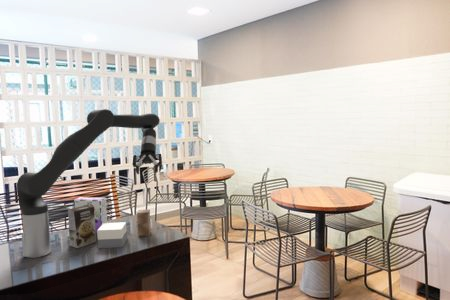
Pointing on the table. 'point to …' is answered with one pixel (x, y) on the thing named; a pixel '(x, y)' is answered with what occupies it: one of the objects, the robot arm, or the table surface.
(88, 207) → the coffee box
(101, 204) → the candy box
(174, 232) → the table surface
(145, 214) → the walnut block
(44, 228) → the robot arm
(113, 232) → the tower top slab
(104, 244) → the tower base slab
